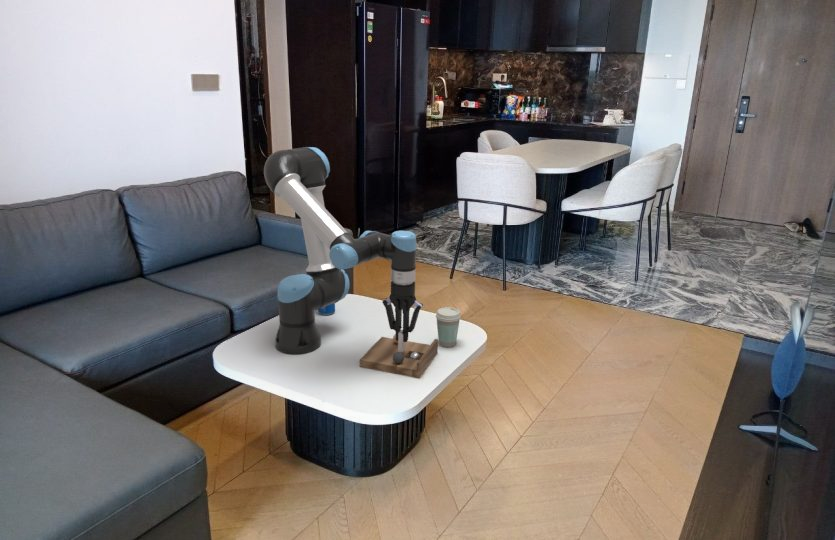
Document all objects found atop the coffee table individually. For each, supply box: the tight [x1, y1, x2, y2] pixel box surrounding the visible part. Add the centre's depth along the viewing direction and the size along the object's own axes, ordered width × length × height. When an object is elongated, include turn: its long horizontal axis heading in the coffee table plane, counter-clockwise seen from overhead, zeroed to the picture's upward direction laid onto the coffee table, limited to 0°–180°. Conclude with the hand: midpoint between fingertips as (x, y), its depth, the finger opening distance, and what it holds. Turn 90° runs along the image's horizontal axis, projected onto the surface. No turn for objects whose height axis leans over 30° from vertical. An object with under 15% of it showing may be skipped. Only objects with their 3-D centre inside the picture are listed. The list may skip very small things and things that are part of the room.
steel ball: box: [410, 352, 420, 360], centre depth 187 cm, size 4×4×4 cm
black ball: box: [393, 352, 404, 363], centre depth 181 cm, size 4×4×4 cm
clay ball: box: [392, 333, 398, 343], centre depth 194 cm, size 4×4×4 cm
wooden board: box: [359, 336, 439, 379], centre depth 188 cm, size 20×18×5 cm
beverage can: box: [317, 303, 336, 316], centre depth 222 cm, size 6×6×12 cm
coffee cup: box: [435, 306, 462, 348], centre depth 199 cm, size 8×9×12 cm
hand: (401, 349), depth 188 cm, fingers closed
